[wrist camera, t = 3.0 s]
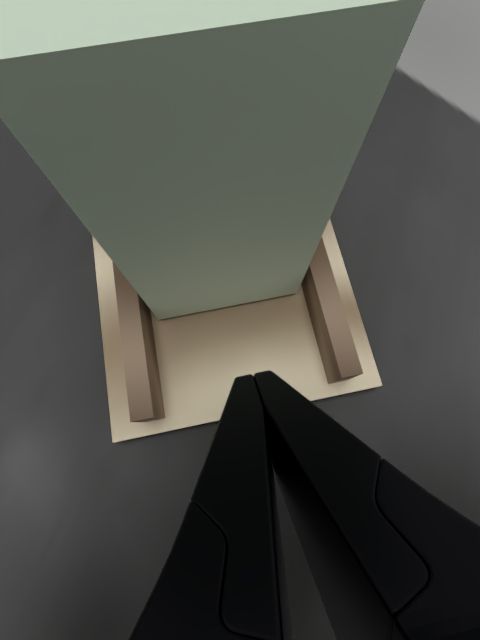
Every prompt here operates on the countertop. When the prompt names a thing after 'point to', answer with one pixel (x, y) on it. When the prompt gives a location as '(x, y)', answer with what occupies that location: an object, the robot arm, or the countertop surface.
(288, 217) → the sage block
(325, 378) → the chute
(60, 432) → the countertop surface
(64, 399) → the countertop surface
